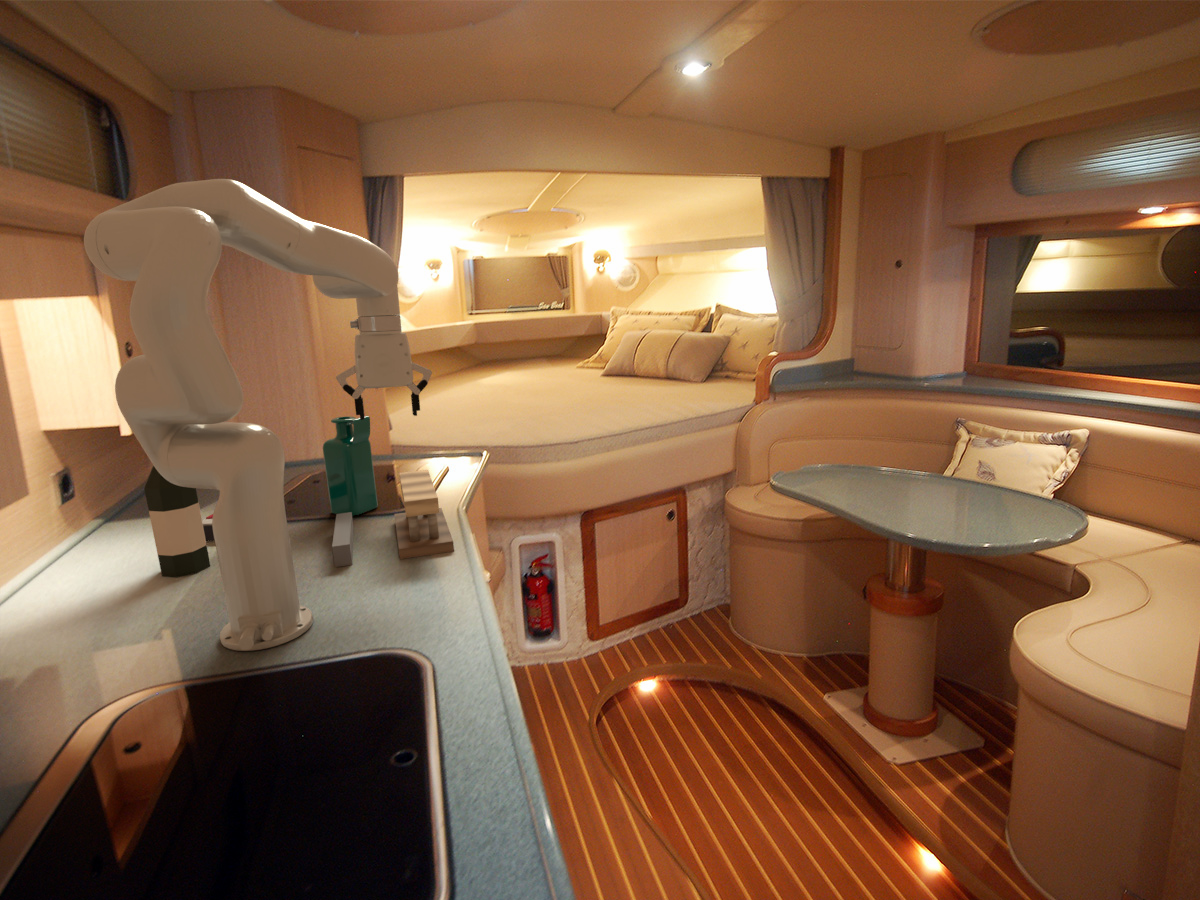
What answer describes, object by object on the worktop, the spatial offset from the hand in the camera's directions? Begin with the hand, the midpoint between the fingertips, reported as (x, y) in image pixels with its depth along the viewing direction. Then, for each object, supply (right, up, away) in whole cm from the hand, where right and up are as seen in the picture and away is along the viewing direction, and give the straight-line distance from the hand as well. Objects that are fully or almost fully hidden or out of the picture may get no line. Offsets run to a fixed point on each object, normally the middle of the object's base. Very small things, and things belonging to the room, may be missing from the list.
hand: (389, 416), depth 131 cm
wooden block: (+4, -16, +7) cm, 18 cm away
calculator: (-38, -24, +18) cm, 49 cm away
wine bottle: (-37, -29, -3) cm, 47 cm away
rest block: (-10, -26, +4) cm, 28 cm away
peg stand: (+4, -24, +9) cm, 26 cm away
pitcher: (-16, -21, +27) cm, 37 cm away
